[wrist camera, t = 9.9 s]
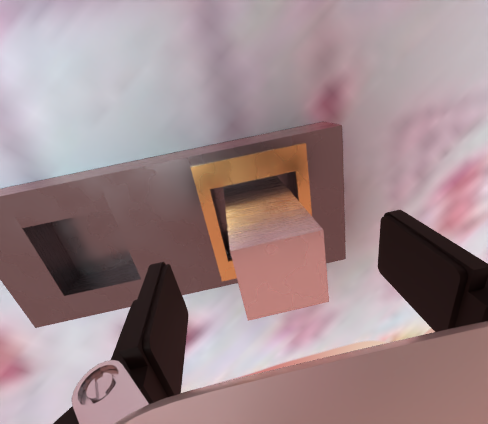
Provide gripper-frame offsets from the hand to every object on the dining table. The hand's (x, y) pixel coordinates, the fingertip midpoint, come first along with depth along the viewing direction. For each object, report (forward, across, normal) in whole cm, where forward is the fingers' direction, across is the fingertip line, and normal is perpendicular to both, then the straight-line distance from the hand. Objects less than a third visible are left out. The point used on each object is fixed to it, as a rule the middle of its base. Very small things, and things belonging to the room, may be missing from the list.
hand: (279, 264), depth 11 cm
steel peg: (+9, 0, +1) cm, 9 cm away
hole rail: (+10, +6, +1) cm, 11 cm away
